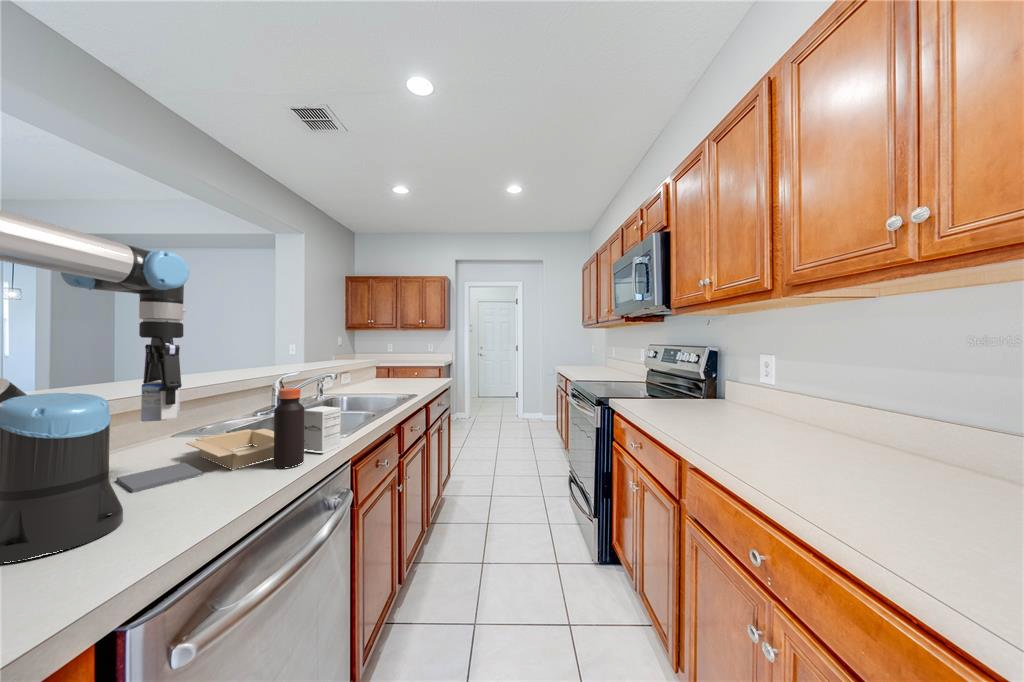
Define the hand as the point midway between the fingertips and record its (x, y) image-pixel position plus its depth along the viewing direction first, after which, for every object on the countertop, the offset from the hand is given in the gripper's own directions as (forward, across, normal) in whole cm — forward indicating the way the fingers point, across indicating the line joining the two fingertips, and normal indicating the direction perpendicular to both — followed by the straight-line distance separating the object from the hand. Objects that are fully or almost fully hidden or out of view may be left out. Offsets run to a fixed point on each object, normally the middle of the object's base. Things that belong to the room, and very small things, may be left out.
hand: (161, 416), depth 85 cm
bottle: (+15, -16, -21) cm, 30 cm away
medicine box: (+1, 0, 0) cm, 1 cm away
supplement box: (+15, -11, -33) cm, 38 cm away
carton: (+15, +2, -18) cm, 23 cm away
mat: (+15, 0, 0) cm, 15 cm away
